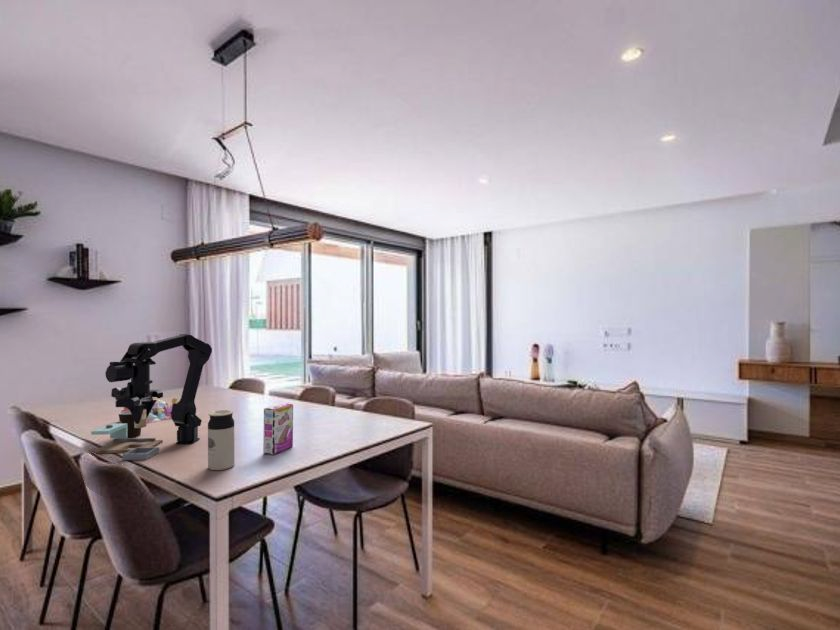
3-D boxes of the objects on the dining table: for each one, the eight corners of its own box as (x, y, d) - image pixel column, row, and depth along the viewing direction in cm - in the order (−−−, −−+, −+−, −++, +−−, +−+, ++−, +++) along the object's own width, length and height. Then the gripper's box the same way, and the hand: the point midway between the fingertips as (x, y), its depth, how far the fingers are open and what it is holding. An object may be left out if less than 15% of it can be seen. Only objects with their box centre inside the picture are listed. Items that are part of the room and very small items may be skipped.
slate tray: (158, 452, 162) (158, 447, 162) (146, 459, 154) (146, 453, 154) (136, 452, 162) (136, 447, 162) (122, 460, 154) (122, 454, 154)
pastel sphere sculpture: (145, 412, 231) (145, 394, 231) (190, 412, 231) (190, 394, 231) (111, 424, 206) (111, 404, 206) (162, 424, 206) (162, 404, 206)
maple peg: (148, 425, 160) (148, 408, 160) (142, 427, 157) (142, 410, 157) (138, 425, 160) (138, 408, 160) (132, 428, 156) (132, 411, 156)
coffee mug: (121, 434, 187) (121, 410, 187) (145, 432, 190) (145, 409, 190) (113, 442, 176) (113, 416, 176) (139, 439, 179) (139, 415, 179)
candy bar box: (274, 455, 158) (273, 409, 158) (262, 454, 160) (262, 408, 160) (294, 446, 169) (293, 403, 169) (283, 445, 171) (282, 402, 170)
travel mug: (230, 461, 153) (229, 408, 152) (238, 467, 146) (237, 412, 146) (205, 466, 147) (204, 411, 147) (212, 472, 141) (211, 415, 141)
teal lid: (127, 437, 174) (127, 421, 174) (108, 446, 163) (108, 428, 163) (111, 437, 174) (111, 421, 174) (91, 446, 162) (91, 429, 162)
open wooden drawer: (162, 442, 175) (162, 437, 175) (144, 452, 163) (144, 446, 163) (115, 443, 174) (115, 438, 174) (93, 453, 162) (93, 447, 162)
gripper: (133, 375, 167) (133, 416, 167) (99, 382, 149) (99, 429, 149) (163, 374, 168) (163, 416, 168) (133, 382, 149) (133, 429, 149)
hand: (140, 422), depth 158 cm, fingers closed on maple peg, 4 cm apart
